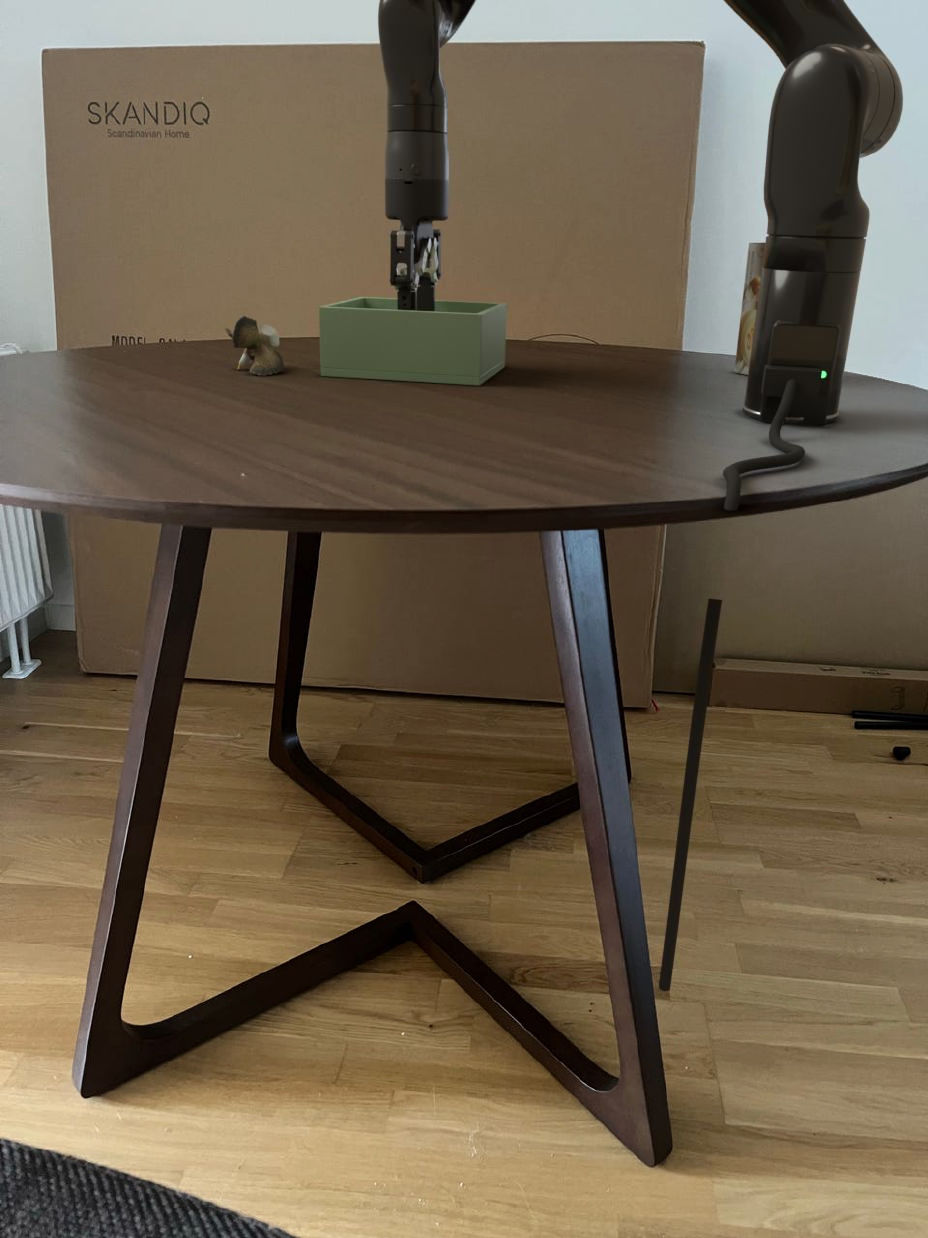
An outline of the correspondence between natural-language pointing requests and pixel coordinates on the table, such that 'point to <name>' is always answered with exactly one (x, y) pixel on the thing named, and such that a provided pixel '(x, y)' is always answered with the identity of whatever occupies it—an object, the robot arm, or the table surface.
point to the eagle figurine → (257, 346)
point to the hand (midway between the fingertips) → (416, 320)
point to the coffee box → (749, 306)
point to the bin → (413, 341)
